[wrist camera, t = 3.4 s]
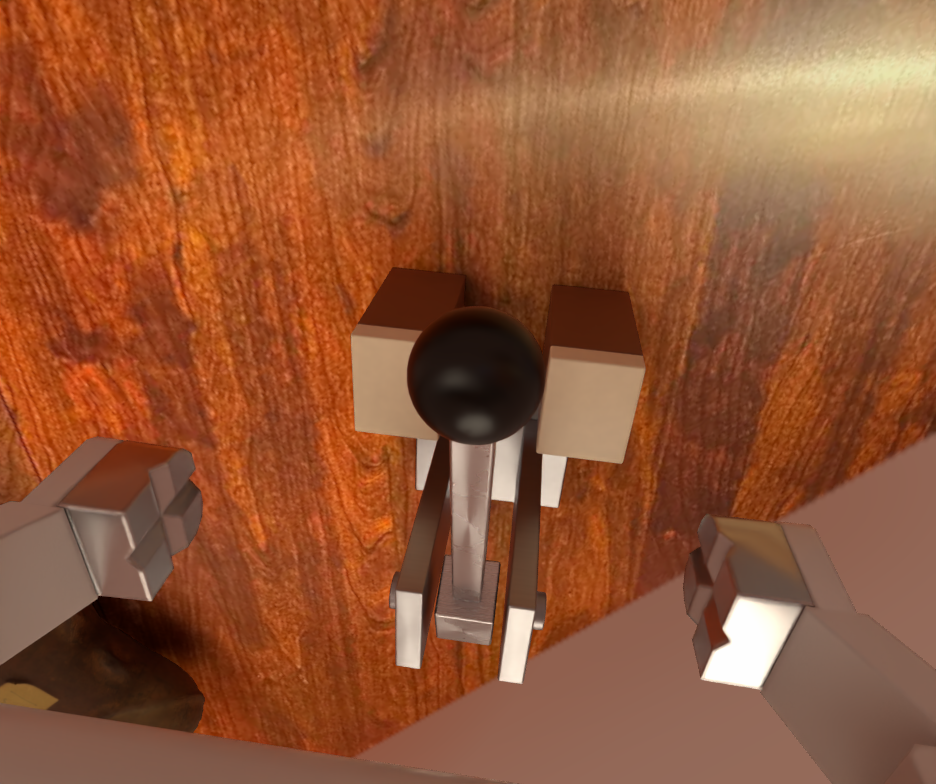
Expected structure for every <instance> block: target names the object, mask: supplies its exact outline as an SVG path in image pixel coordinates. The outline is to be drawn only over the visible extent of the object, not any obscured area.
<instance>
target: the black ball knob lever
mask: <svg viewBox="0 0 936 784" xmlns="http://www.w3.org/2000/svg"><path fill="white" fill-rule="evenodd" d="M545 382H546V369H545V363H544V358H543V355H542V352H541V349H540V347H539V345H538V343H537V341H536V339H535V338H534V336H533V335H532V333H531V332H530V331H529V330H528V329H527V328H526V327H525V326H524V325H523V324H522V323H521V322H520V321H519V320H517V319H516V318H514V317H513V316H511V315H509V314H507V313H505V312H503V311H501V310H498V309H495V308H491V307H484V306H469V307H463V308H458V309H455V310H452V311H449V312H447V313H445V314H443V315H441V316H440V317H438V318H437V319H435V320H434V321H433V322H431V323H430V324H429V325H428V326H427V327H426V328H425V329H424V330H423V332H422V333H421V334H420V336H419V337H418V338H417V340H416V342H415V344H414V346H413V348H412V350H411V353H410V356H409V360H408V366H407V386H408V391H409V395H410V398H411V401H412V404H413V406H414V408H415V409H416V411H417V413H418V415H419V416H420V417H421V419H422V420H423V421H424V422H425V423H426V424H427V425H428V426H429V427H430V428H431V429H432V430H433V431H435V432H436V433H437V434H439V435H441V436H442V437H444V438H446V439H449V458H450V509H451V555H445V556H444V560H443V566H442V572H441V578H440V584H439V590H438V596H437V601H436V607H435V613H434V614H435V625H436V636H437V637H438V638H443V639H450V640H457V641H463V642H470V643H477V644H484V645H490V644H491V640H492V633H493V626H494V618H495V609H496V600H497V591H498V582H499V573H500V565H501V564H500V562H497V561H489V560H486V553H487V542H488V531H489V520H490V508H491V497H492V486H493V475H494V464H495V452H496V442H498V441H501V440H504V439H506V438H508V437H510V436H512V435H513V434H515V433H516V432H518V431H519V430H520V429H521V428H522V427H524V426H525V425H526V424H527V423H528V421H529V420H530V419H531V418H532V416H533V415H534V414H535V412H536V410H537V408H538V406H539V405H540V402H541V400H542V397H543V393H544V389H545Z"/></svg>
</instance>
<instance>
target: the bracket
mask: <svg viewBox="0 0 936 784" xmlns="http://www.w3.org/2000/svg"><path fill="white" fill-rule="evenodd" d="M538 407H539V406H538ZM537 424H538V408H537V410H536V412H535V414H534V415H533V416H532V418H531V419H530V420H529V421H528V423H527V424H526V425H525V426H524V427H522V428H521V429H520V430H519V431H518V432H516V433H515V434H513V435H512V436H510V437H508V438H506V439H504V440H501V441H498V442H496V452H495V464H494V475H493V486H492V497H491V499H492V500H500V501H508V502H514V508H513V519H512V530H511V540H510V551H509V562H508V572H507V583H506V594H505V604H504V615H503V626H502V636H501V647H500V658H499V668H498V680H499V681H505V682H512V683H519V684H522V683H523V681H524V675H525V670H526V665H527V659H528V654H529V648H530V642H531V637H532V631H533V629H537V630H542V629H543V627H544V621H545V613H546V593H545V592H538V591H537V581H538V557H539V533H540V509H541V506H546V507H554V508H558V507H559V504H560V498H561V493H562V487H563V482H564V476H565V471H566V466H567V460H568V457H563V456H555V455H547V454H539V453H537V452H536V442H537ZM415 488H416V490H423V493H422V496H421V500H420V503H419V507H418V511H417V514H416V518H415V521H414V525H413V528H412V532H411V536H410V539H409V543H408V546H407V550H406V554H405V557H404V561H403V564H402V568H401V571H400V572H395V574H394V576H393V580H392V584H391V589H390V596H389V606H390V608H392V609H395V629H396V665H397V666H404V667H410V668H417V669H420V668H421V664H422V660H423V655H424V650H425V645H426V640H427V636H428V631H429V626H430V621H431V617H432V612H433V607H434V602H435V597H436V593H437V588H438V583H439V578H440V574H441V569H442V564H443V559H444V554H445V550H446V545H447V540H448V535H449V531H450V526H451V509H450V458H449V439H446V438H444V437H442V436H441V435H440V436H439V439H438V441H433V440H425V439H417V438H416V478H415Z"/></svg>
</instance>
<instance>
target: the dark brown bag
mask: <svg viewBox="0 0 936 784" xmlns="http://www.w3.org/2000/svg"><path fill="white" fill-rule="evenodd" d="M204 701H205V698H204V696H203V694H202V692H200V691H199V689H198V687H197V685H196V683H195V682H194V680H193V679H192V678H191V677H190V676H189V674H187V673H186V672H185V671H184V670H183V669H182V668H181V667H179V666H178V665H177V664H175V663H173V662H172V661H170V660H168V659H167V658H165V657H163V656H161V655H159V654H157V653H156V652H154V651H152V650H150V649H149V648H147V647H145V646H144V645H142V644H140V643H139V642H137V641H136V640H135V639H133V638H131V637H130V636H128V635H127V634H125V633H124V632H122V631H120V630H118V629H117V628H115V627H113V626H111V625H109V624H107V623H105V622H104V621H103V620H102V619H101V618H100V617H99V615H98V614H97V612H96V610H95V608H94V606H93V605H92V603H91V604H89V605H88V606H86V607H85V608H83V609H82V610H80V611H79V612H77V613H76V614H74V615H73V616H72V617H70V618H69V619H67V620H66V621H64V622H63V623H61V624H60V625H58V626H57V627H55V628H54V629H53V630H51V631H50V632H48V633H47V634H45V635H44V636H42V637H41V638H39V639H38V640H36V641H35V642H34V643H32V644H31V645H29V646H28V647H26V648H25V649H23V650H22V651H20V652H19V653H17V654H16V655H15V656H13V657H12V658H10V659H9V660H7V661H6V662H4V663H3V664H1V665H0V703H4V704H10V705H17V706H23V707H29V708H36V709H42V710H49V711H55V712H61V713H68V714H74V715H81V716H87V717H93V718H100V719H106V720H113V721H119V722H126V723H132V724H138V725H145V726H151V727H158V728H164V729H170V730H177V731H183V732H190V733H193V732H194V730H195V729H196V728H197V726H198V723H199V721H200V720H201V717H202V712H203V705H204Z"/></svg>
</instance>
